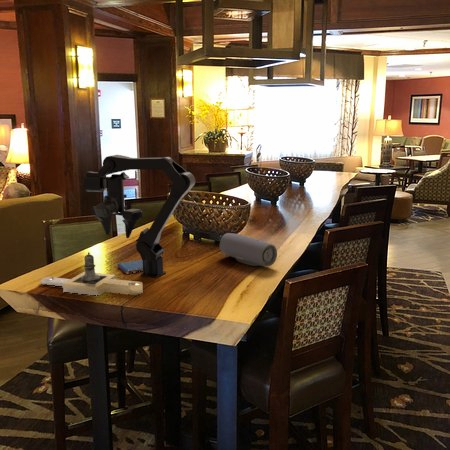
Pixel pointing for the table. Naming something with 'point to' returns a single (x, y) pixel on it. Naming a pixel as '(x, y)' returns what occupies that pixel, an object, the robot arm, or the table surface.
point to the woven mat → (131, 266)
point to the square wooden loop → (106, 285)
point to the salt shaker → (89, 271)
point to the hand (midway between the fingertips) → (117, 236)
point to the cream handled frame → (60, 283)
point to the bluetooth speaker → (248, 250)
